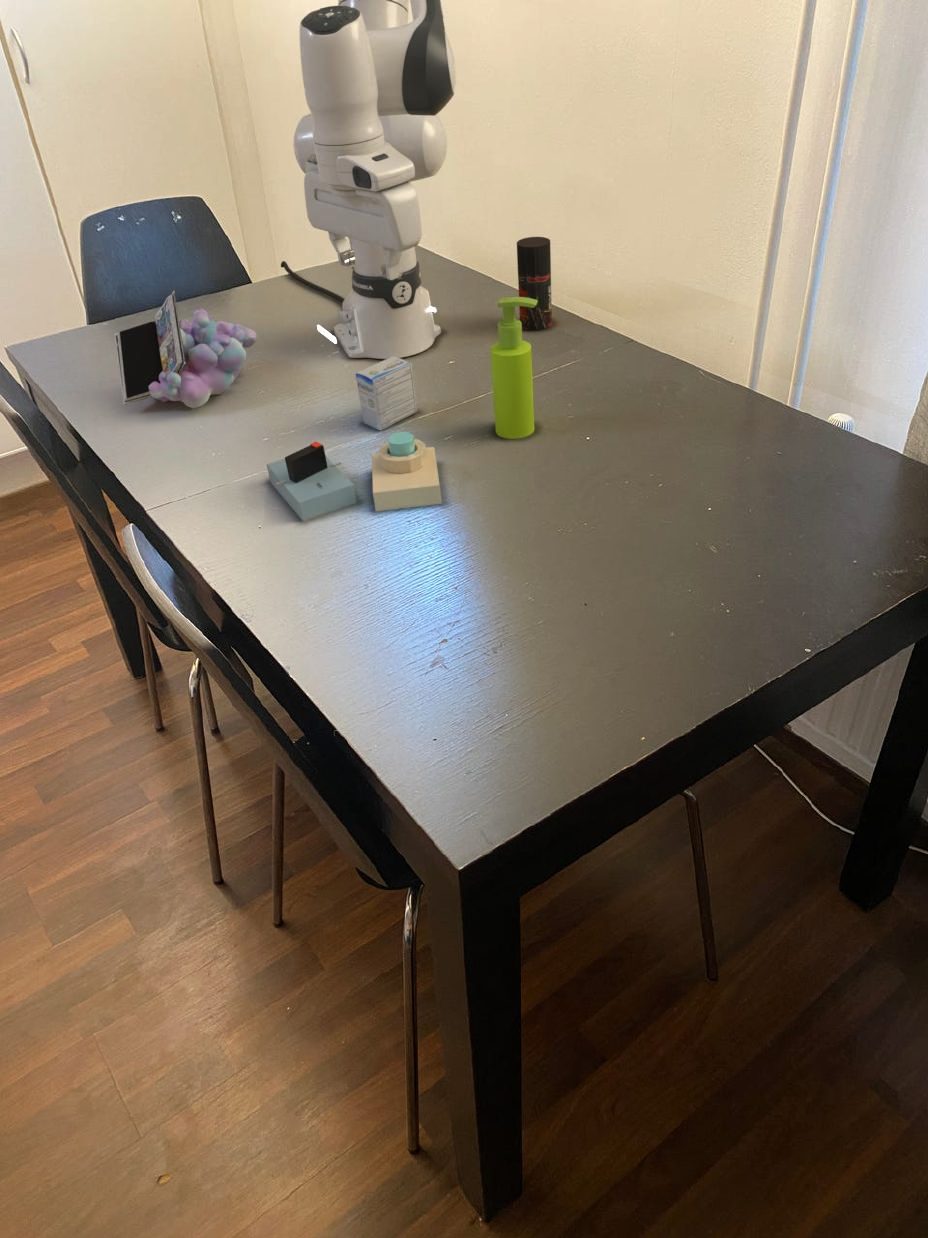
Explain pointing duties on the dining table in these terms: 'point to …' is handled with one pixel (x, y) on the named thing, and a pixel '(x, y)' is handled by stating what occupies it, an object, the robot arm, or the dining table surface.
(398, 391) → the medicine box
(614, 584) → the dining table surface
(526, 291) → the deodorant
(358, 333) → the robot arm
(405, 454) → the teal short cylinder
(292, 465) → the black rectangular block
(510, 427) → the soap dispenser
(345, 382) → the dining table surface
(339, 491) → the switch panel
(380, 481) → the beige nut base
